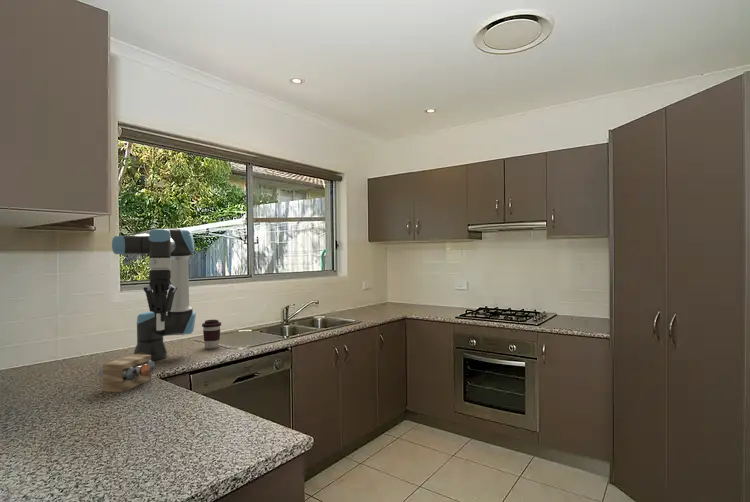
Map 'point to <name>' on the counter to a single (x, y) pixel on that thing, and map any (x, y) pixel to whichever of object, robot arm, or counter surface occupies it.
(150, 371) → the plug
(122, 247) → the robot arm
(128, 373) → the plug
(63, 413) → the counter surface
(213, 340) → the coffee cup
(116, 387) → the block
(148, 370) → the plug rust
